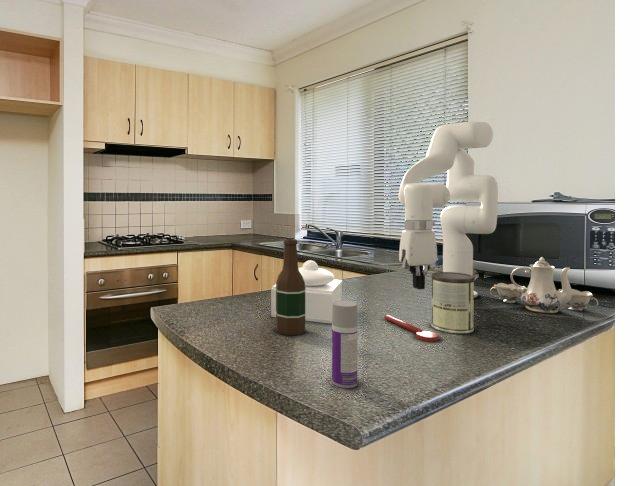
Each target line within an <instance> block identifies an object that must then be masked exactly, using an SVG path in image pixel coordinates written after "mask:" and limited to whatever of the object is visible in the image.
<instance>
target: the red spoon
mask: <svg viewBox="0 0 640 486" xmlns="http://www.w3.org/2000/svg"><path fill="white" fill-rule="evenodd" d="M384 319H385V320H386V321H388V322H391V323H392V324H395V325H397V326H399V327H401V328H404V329H405V330H408V331H410V332H412V333H414V334H415V337H416V339H418V340H421V341H423V342H437V341H439V334H437V333H436V332H432V331H427V330H423V329H421V328H419V327H416V326H414V325H412V324H410V323H408V322H405V321H403V320H400V319H398V318H396V317H394V316H392V315H389V314H385V315H384Z"/></svg>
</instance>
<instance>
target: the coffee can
mask: <svg viewBox="0 0 640 486" xmlns="http://www.w3.org/2000/svg"><path fill="white" fill-rule="evenodd" d="M430 275H431V276H430V277H431V325H430V326H431V327H432V328H433V329H434V330H438V331H440V332H444V333H449V334H460V335H461V334H471V333H473V332H474V329H475V328H474V316H475V315H474V313H475V312H474V311H475V310H474V309H475V308H474V307H475V306H474V305H475V304H474V302H475V301H474V299H475V298H474V291H475V276H474V275H473V276H472V275H469V274H464V273H455V272H443V271H435V272H432V273H431V274H430Z"/></svg>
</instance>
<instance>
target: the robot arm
mask: <svg viewBox="0 0 640 486" xmlns="http://www.w3.org/2000/svg"><path fill="white" fill-rule="evenodd" d="M493 137H494V131H493V127H492V126H491V125H490V123H488V122H486V121H463V122H453V123H452V122H451V123H445V124H442V125H439V126H438V127H437V128H436V129H435V131H434V132H433V135H432V138H431V140H430V144H429V147H428V149H427V152H426V156H425V157H422V159H420V160H419V161H417V162H415V164H414V165H412V166H411V167H410V168H408V169H407V171H406V172H405V174H404V175H403V177H402V181H401V183H400V186H399V190H398V200H399V203H400V204H401V205H402V206H403V207H404V230H402V231H401V235H400V241H399V251H398V260H399V261H398V262H399V263H400V264H401V269H403V270H405V271H408V272H410V274H411V275H412V287H413V288H414V289H416V290H425V289H426V276H427V275H428V272H429V271H430V269H433V268H435V267H436V266H437V265H436V263H437V261H438V245H437V238H436V233H435V230H433V229H434V227H435V226H436V221H434V219H433V218H434V217H433V216H434V214H433V213H434V211H433V209H438V208H442V207H445V206H446V205H447V204H448V203H449V201H451V202H456V203H480V205H450V206H449V205H448V206H446V207H445V208H443V209H442V211H441V212H440V216H439V217H440V225H441V231H442V272H455V273H464V274H469V275H472V276H474V245H473V242H472V241H471V240H470V238H469V237H468V236H467V235H466V234H474V235H475V234H476V235H477V234H478V235H490V234H492V233H494V232H495V230H496V228H497V222H498V203H499V201H498V200H499V185H498V182H497V179H496V178H495V176H493V175H489V174H475V160H474V158H473V157H472V156H471V154H469V153H468V151H466V149H467V150H468V149H478V148H479V149H480V148H481V149H483V148H487V147H489V146H490V145H491V143H492V141H493ZM445 172H446V173H447V175H446V176H447V177H446V185H445V184H444V183H441V182H423V181H425V180H427V179H429V178H431V177H435V176H439V175H441V174H444V173H445ZM478 296H479V295H478V291H475V290H474V299H475V298H477V297H478Z"/></svg>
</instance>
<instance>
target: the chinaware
mask: <svg viewBox="0 0 640 486" xmlns="http://www.w3.org/2000/svg"><path fill="white" fill-rule="evenodd" d="M555 267H556V266H554V265H550V263H549V262H548V261H546V259H545V258H544V257H543V256H541V257H540V258H539V260H537V261H536V262H535V263H534V264H529V267H525V266H521V267H516V268H514V269H513V270H512V271H511V273H510V281H511V283H509V284H508V283H507V284H506V283H503V282H498V283H497V284H494V285H493V286H492V287H491V288H490V289H489V294H490V295H491V296H492V297H495V298H496V297H497V295H495V294H492V292H491V291H492V289H494V290H496V291H497V294H498V299H499V300H502V299H503V302H504V303H509V304H514V303H516V300H518V299H519V298H520V301H521V302H522V303H523V305H524V306H525V307H524V308H525V309H526V310H528V311H530V312H534V313H535V312H536V313H540V314H541V313H542V314H557V313H559V309H560V308H561V307H563V306H566V305H567V306H568V309H569V310H572V311H584V310H588V308H590V309H595V308H597V307H598V305H599V301H598V299H597V298H595V297H594V294H593V293H592V292H590V291H588V290H585V291H580V290H578V289H574V288H572V287H571V283H570V280H569V278H568V275H567V273H568V271H569V270H570V269H571V267H567V266H566V267H564V268H563V269H562V270H561V272H560V282H561V288H559V289H558V290H557V289H556V286H555V283H554V270H555ZM520 270H524V273H525V274H530V281H529V284H528V285H527V287H526V286H524V285H523V286H522V285H520V284H518V283H516V282H515V280H514V274H515V272H516V271H520ZM590 300H591V301H592V300H595V302H596V305H594V306H590V305H589V303H590ZM583 309H584V310H583Z"/></svg>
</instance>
